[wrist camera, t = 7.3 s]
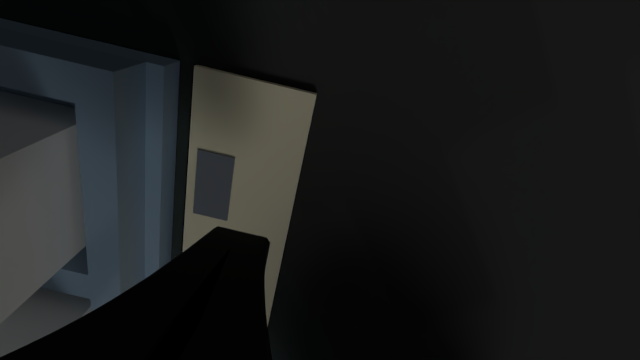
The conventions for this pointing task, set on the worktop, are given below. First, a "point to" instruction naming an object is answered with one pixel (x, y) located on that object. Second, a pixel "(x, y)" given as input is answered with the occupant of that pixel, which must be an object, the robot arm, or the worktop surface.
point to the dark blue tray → (161, 153)
